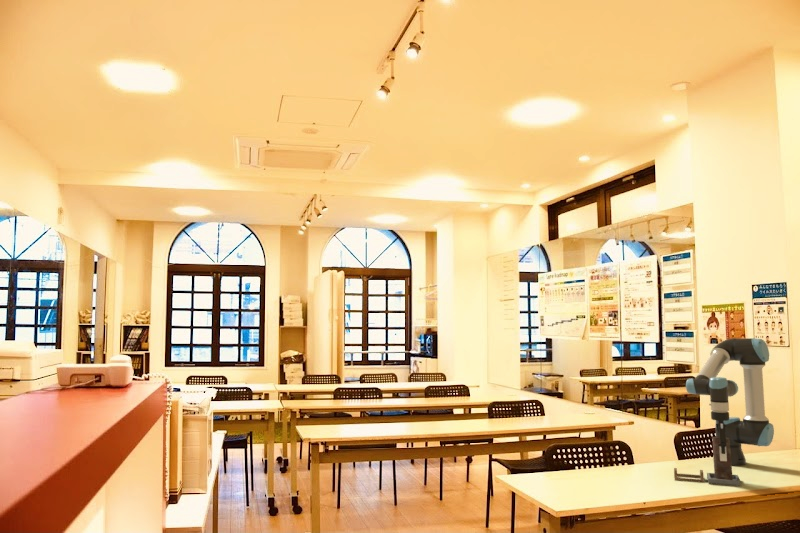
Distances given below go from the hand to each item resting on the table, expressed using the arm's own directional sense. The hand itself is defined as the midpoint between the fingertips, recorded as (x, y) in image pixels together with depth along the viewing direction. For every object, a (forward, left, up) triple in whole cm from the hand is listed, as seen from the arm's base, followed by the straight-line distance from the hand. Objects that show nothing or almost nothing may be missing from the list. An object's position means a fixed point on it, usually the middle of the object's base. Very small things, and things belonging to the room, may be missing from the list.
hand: (722, 458), depth 295 cm
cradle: (-1, -14, -11) cm, 18 cm away
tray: (0, 0, -11) cm, 11 cm away
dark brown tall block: (0, 0, -10) cm, 10 cm away
